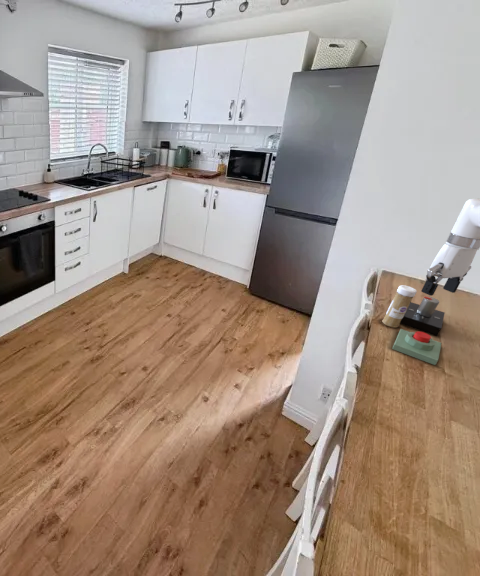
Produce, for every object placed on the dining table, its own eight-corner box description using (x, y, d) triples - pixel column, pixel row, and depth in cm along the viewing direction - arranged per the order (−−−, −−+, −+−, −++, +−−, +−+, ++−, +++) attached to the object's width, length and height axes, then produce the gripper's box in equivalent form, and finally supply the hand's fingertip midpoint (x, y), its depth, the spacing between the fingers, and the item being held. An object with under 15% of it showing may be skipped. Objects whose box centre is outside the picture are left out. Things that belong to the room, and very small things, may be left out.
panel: (436, 336, 115) (441, 328, 114) (398, 323, 121) (402, 315, 120) (440, 320, 124) (445, 312, 123) (404, 308, 130) (408, 300, 129)
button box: (435, 365, 102) (441, 355, 101) (392, 349, 108) (397, 339, 107) (438, 347, 110) (444, 337, 108) (398, 333, 116) (403, 323, 114)
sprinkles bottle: (390, 328, 118) (408, 291, 112) (378, 320, 122) (395, 284, 116) (402, 327, 119) (421, 291, 113) (389, 319, 123) (407, 284, 117)
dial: (432, 314, 122) (440, 298, 119) (430, 318, 119) (439, 303, 116) (417, 309, 124) (425, 294, 121) (415, 313, 121) (423, 298, 119)
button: (427, 345, 105) (430, 340, 105) (412, 339, 108) (414, 334, 107) (428, 339, 108) (431, 335, 107) (413, 334, 110) (416, 329, 109)
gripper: (469, 235, 115) (444, 284, 122) (430, 238, 110) (406, 289, 118) (498, 243, 108) (470, 295, 116) (457, 247, 104) (430, 300, 111)
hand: (437, 292), depth 117 cm, fingers open, 9 cm apart
